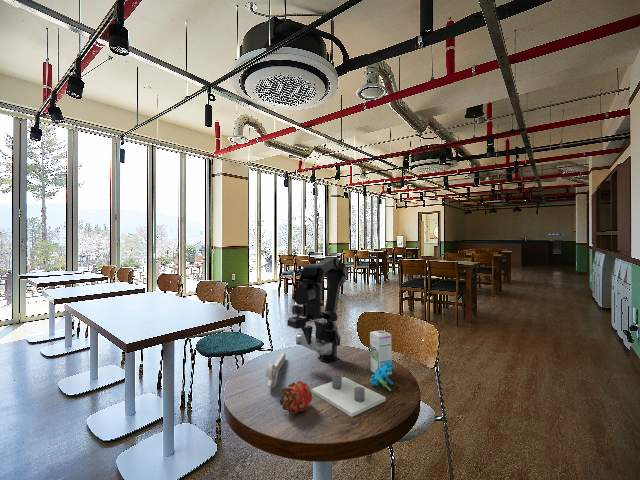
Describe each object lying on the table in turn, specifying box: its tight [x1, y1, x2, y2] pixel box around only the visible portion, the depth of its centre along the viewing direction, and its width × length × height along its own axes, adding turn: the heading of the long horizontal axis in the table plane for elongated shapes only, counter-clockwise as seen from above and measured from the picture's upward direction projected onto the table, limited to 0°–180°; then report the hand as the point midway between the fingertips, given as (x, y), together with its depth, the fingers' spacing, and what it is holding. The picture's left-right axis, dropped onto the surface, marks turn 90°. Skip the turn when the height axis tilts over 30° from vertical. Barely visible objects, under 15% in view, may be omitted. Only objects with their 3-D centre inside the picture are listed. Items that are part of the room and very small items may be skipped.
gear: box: [369, 361, 394, 392], centre depth 105 cm, size 11×6×10 cm
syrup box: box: [369, 329, 393, 376], centre depth 115 cm, size 6×6×14 cm
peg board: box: [311, 375, 387, 418], centre depth 97 cm, size 14×18×4 cm
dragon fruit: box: [279, 380, 313, 416], centre depth 90 cm, size 8×8×12 cm
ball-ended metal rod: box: [295, 332, 332, 355], centre depth 114 cm, size 5×18×3 cm, turn 39°
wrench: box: [265, 353, 286, 389], centre depth 113 cm, size 8×2×30 cm
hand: (313, 343), depth 114 cm, fingers closed on ball-ended metal rod, 4 cm apart
